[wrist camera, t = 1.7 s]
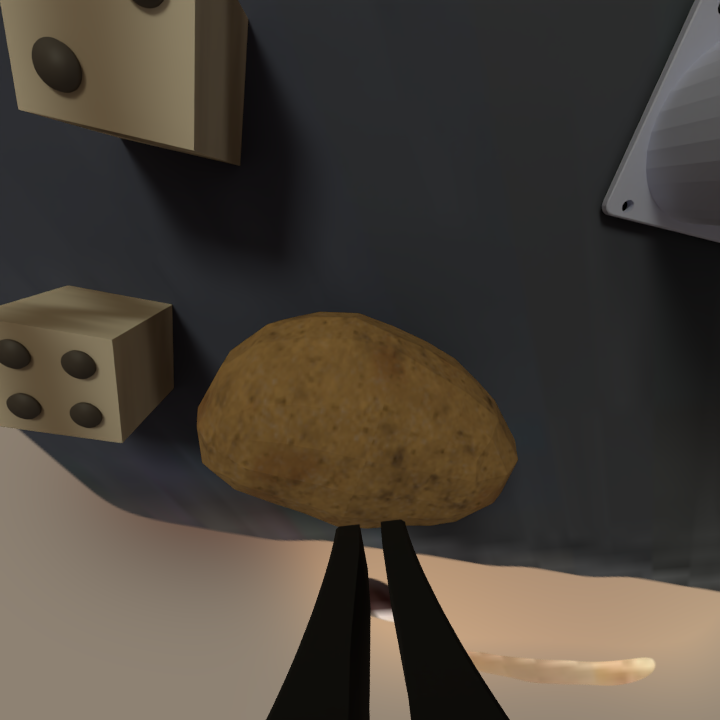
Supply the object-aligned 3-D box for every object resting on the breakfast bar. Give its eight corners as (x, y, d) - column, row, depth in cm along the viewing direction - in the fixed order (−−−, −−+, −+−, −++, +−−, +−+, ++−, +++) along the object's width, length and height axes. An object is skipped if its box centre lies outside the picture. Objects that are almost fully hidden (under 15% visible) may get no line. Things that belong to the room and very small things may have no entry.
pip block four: (172, 304, 18) (109, 341, 13) (174, 387, 20) (120, 445, 15) (68, 285, 17) (-37, 316, 12) (81, 372, 19) (-5, 428, 14)
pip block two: (248, 20, 13) (192, -82, 8) (240, 166, 15) (192, 149, 10) (110, -19, 13) (-31, -150, 8) (121, 138, 15) (14, 108, 10)
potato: (441, 468, 23) (484, 593, 15) (226, 420, 21) (160, 539, 13) (509, 337, 19) (609, 421, 12) (254, 262, 17) (182, 307, 10)
